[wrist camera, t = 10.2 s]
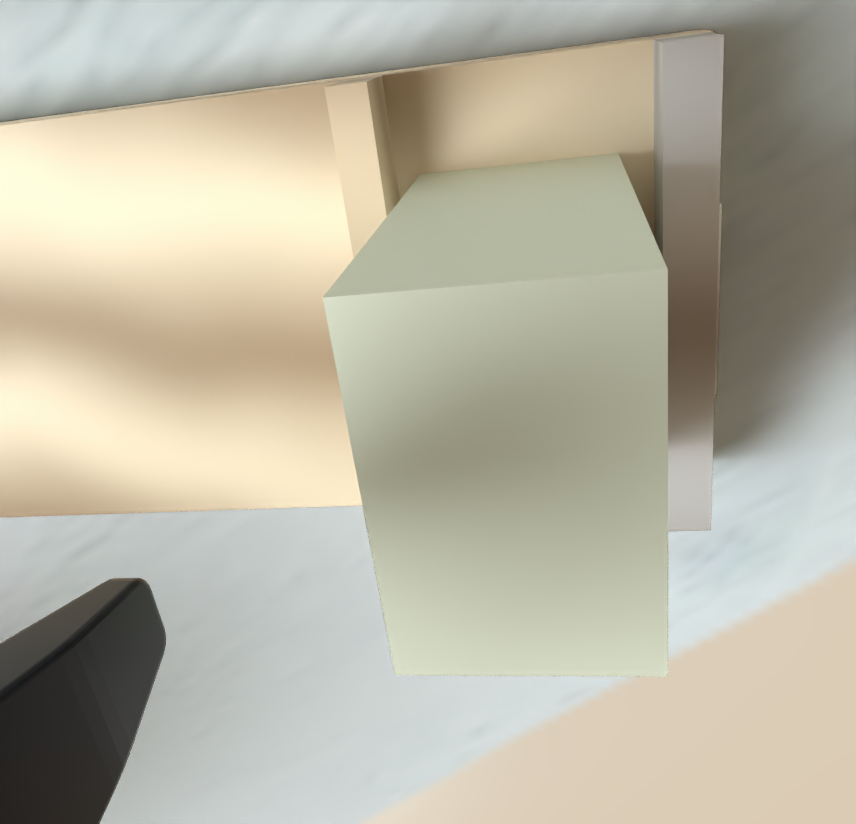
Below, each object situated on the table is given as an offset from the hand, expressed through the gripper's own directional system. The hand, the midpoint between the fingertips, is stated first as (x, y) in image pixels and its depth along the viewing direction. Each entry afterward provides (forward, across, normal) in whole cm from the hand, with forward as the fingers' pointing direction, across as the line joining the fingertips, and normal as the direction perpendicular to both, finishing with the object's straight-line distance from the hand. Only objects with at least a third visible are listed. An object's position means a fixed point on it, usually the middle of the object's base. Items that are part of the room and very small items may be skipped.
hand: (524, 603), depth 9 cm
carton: (+10, 0, 0) cm, 10 cm away
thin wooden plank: (+11, +6, 0) cm, 13 cm away
